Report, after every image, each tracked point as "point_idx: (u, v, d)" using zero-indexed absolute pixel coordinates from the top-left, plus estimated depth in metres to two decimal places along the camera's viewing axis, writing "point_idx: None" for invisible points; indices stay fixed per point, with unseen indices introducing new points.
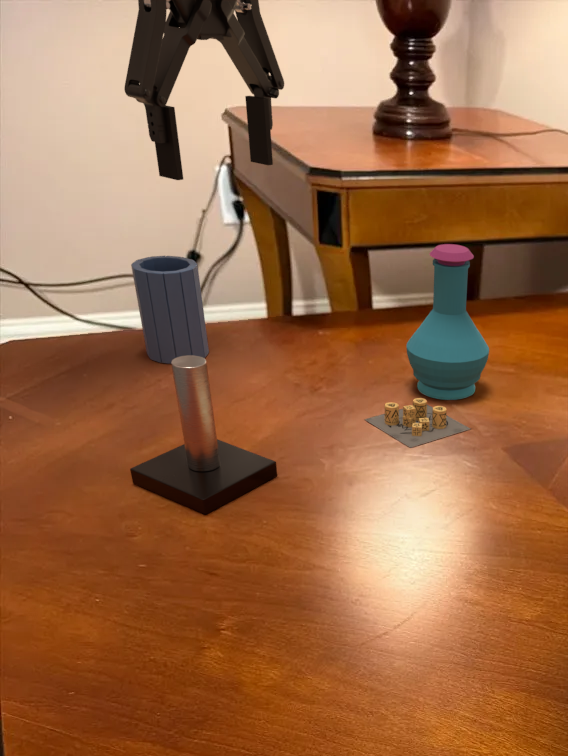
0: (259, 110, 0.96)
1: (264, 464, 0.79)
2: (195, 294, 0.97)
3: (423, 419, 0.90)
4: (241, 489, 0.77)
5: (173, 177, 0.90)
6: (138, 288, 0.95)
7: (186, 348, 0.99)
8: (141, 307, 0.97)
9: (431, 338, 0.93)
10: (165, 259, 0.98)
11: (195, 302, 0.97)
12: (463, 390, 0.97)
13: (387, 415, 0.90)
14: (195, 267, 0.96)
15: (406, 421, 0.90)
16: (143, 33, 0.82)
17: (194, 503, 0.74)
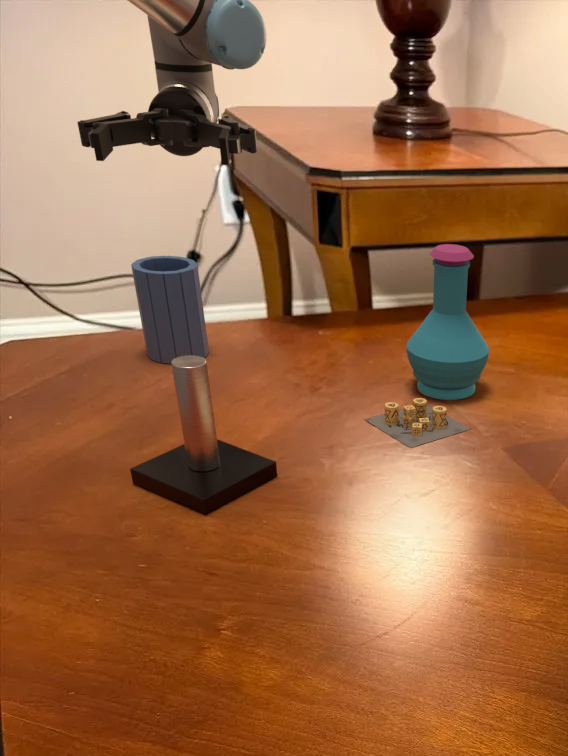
0: (110, 144, 1.01)
1: (264, 464, 0.79)
2: (195, 294, 0.97)
3: (423, 419, 0.90)
4: (241, 489, 0.77)
5: (228, 158, 0.99)
6: (138, 288, 0.95)
7: (186, 348, 0.99)
8: (141, 307, 0.97)
9: (431, 338, 0.93)
10: (165, 259, 0.98)
11: (195, 302, 0.97)
12: (463, 390, 0.97)
13: (387, 415, 0.90)
14: (195, 267, 0.96)
15: (406, 421, 0.90)
16: None
17: (194, 503, 0.74)
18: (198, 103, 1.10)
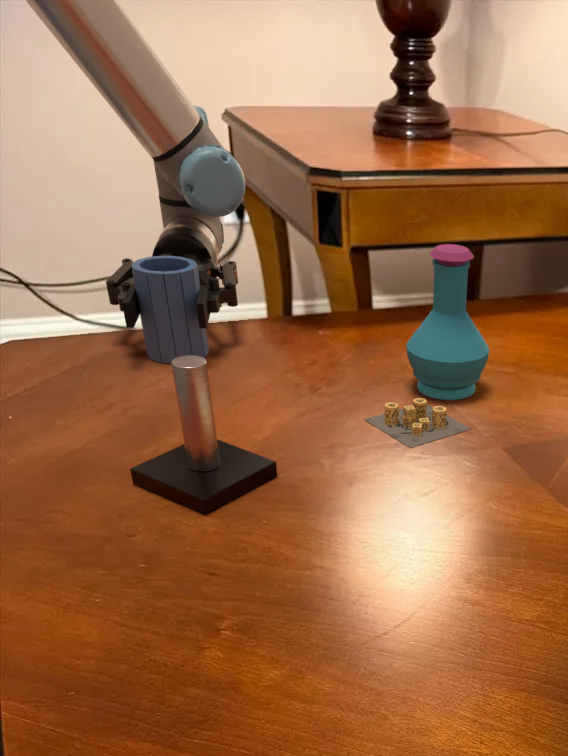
0: None
1: (264, 464, 0.79)
2: (195, 294, 0.97)
3: (423, 419, 0.90)
4: (241, 489, 0.77)
5: (206, 322, 0.96)
6: (138, 288, 0.95)
7: (186, 348, 0.99)
8: (141, 307, 0.97)
9: (431, 338, 0.93)
10: (165, 259, 0.98)
11: (195, 302, 0.97)
12: (463, 390, 0.97)
13: (387, 415, 0.90)
14: (195, 267, 0.96)
15: (406, 421, 0.90)
16: None
17: (194, 503, 0.74)
18: (203, 245, 1.08)
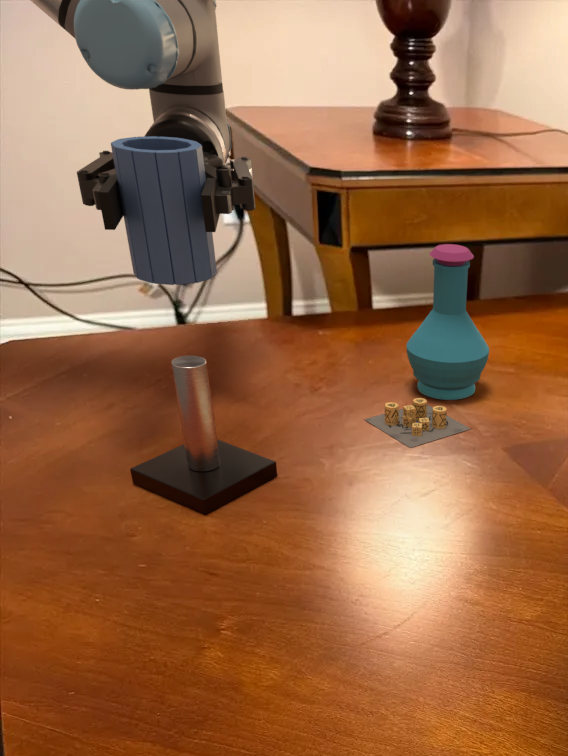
0: None
1: (264, 464, 0.79)
2: (199, 186, 0.71)
3: (423, 419, 0.90)
4: (241, 489, 0.77)
5: (214, 223, 0.70)
6: (121, 175, 0.69)
7: (187, 263, 0.73)
8: (125, 204, 0.70)
9: (431, 338, 0.93)
10: (157, 140, 0.72)
11: (199, 198, 0.71)
12: (463, 390, 0.97)
13: (387, 415, 0.90)
14: (199, 148, 0.70)
15: (406, 421, 0.90)
16: None
17: (194, 503, 0.74)
18: (207, 137, 0.82)
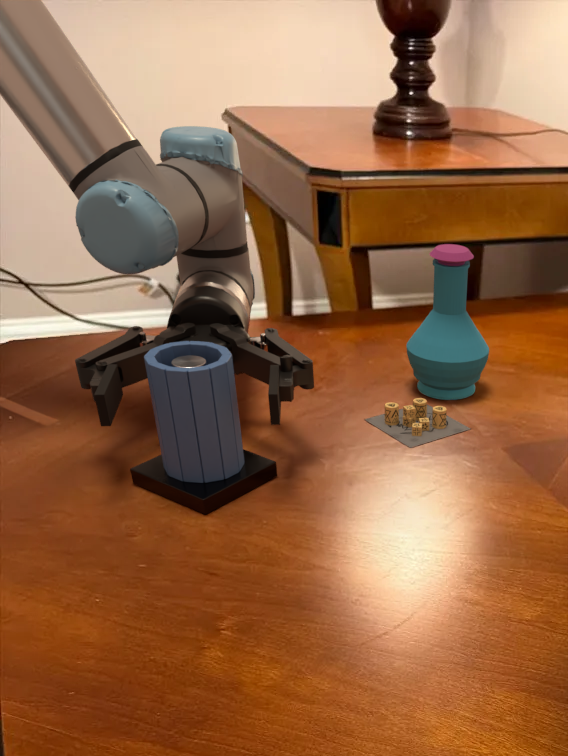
0: (119, 391, 0.75)
1: (264, 464, 0.79)
2: (229, 394, 0.73)
3: (423, 419, 0.90)
4: (241, 489, 0.77)
5: (279, 417, 0.73)
6: (153, 388, 0.71)
7: (216, 463, 0.75)
8: (157, 412, 0.72)
9: (431, 338, 0.93)
10: (189, 346, 0.74)
11: (229, 404, 0.73)
12: (463, 390, 0.97)
13: (387, 415, 0.90)
14: (229, 359, 0.72)
15: (406, 421, 0.90)
16: None
17: (194, 503, 0.74)
18: (234, 311, 0.84)
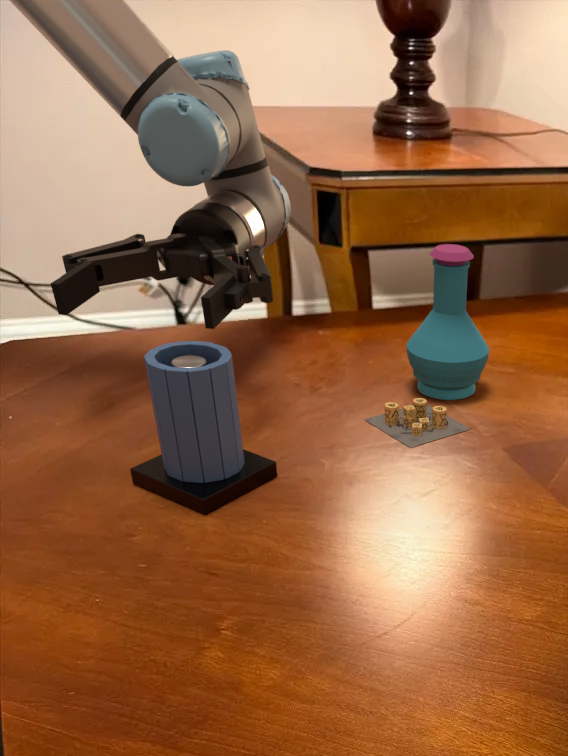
0: (92, 287, 0.81)
1: (264, 464, 0.79)
2: (229, 394, 0.73)
3: (423, 419, 0.90)
4: (241, 489, 0.77)
5: (213, 321, 0.77)
6: (153, 388, 0.71)
7: (216, 463, 0.75)
8: (157, 412, 0.72)
9: (431, 338, 0.93)
10: (189, 346, 0.74)
11: (229, 404, 0.73)
12: (463, 390, 0.97)
13: (387, 415, 0.90)
14: (229, 359, 0.72)
15: (406, 421, 0.90)
16: None
17: (194, 503, 0.74)
18: (228, 227, 0.88)
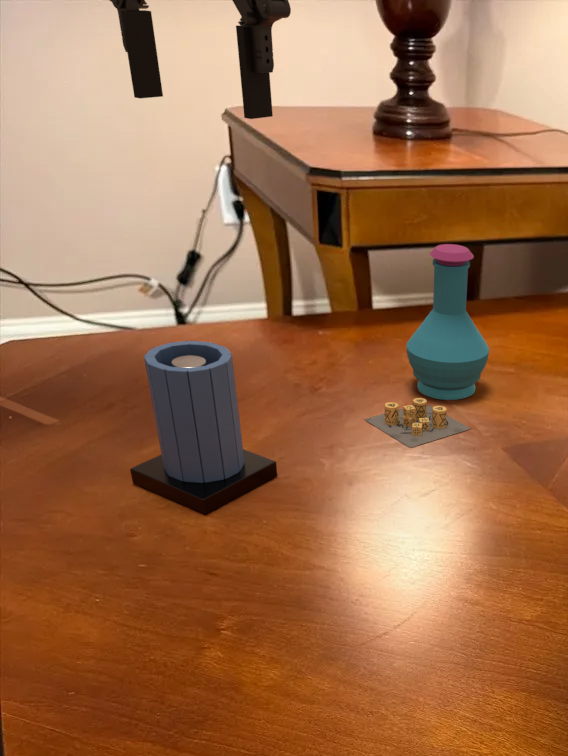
0: (146, 27, 0.77)
1: (264, 464, 0.79)
2: (229, 394, 0.73)
3: (423, 419, 0.90)
4: (241, 489, 0.77)
5: (267, 114, 0.76)
6: (153, 388, 0.71)
7: (216, 463, 0.75)
8: (157, 412, 0.72)
9: (431, 338, 0.93)
10: (189, 346, 0.74)
11: (229, 404, 0.73)
12: (463, 390, 0.97)
13: (387, 415, 0.90)
14: (229, 359, 0.72)
15: (406, 421, 0.90)
16: None
17: (194, 503, 0.74)
18: None
